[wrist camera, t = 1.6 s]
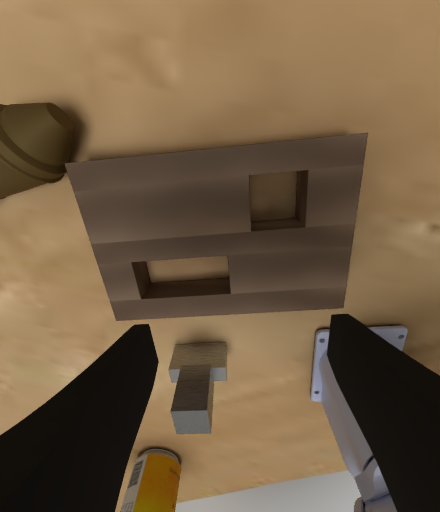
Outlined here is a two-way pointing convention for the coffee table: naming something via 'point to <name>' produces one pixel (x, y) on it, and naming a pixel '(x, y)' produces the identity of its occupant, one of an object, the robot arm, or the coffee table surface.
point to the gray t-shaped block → (196, 384)
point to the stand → (223, 226)
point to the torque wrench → (32, 146)
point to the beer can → (153, 483)
